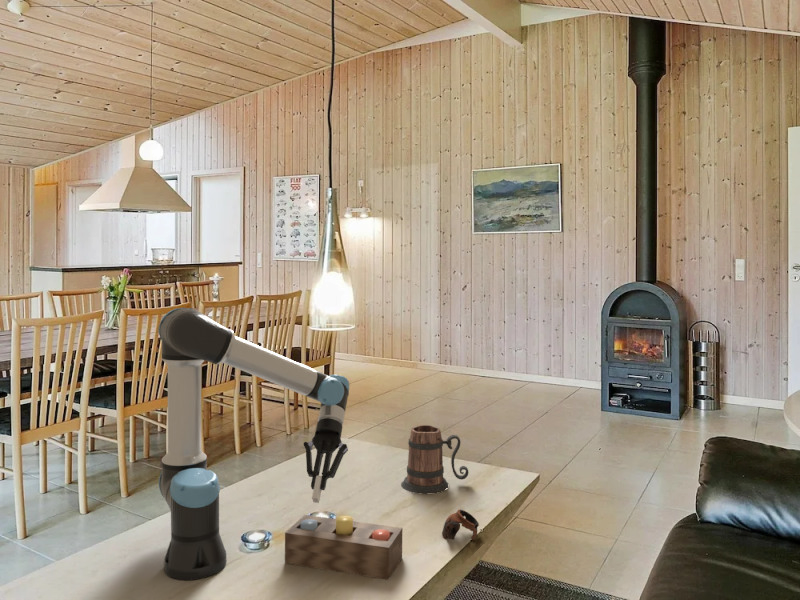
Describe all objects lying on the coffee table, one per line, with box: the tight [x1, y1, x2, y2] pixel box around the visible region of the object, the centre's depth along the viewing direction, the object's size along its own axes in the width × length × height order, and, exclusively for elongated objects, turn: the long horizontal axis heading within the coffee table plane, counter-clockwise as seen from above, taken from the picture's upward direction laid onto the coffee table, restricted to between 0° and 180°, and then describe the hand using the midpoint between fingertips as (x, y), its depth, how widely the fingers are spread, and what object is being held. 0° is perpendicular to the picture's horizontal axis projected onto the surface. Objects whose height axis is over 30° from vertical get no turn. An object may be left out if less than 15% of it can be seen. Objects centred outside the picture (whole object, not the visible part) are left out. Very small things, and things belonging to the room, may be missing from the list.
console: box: [284, 514, 403, 580], centre depth 164 cm, size 28×12×8 cm, turn 74°
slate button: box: [301, 519, 317, 531], centre depth 166 cm, size 4×4×4 cm
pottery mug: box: [441, 508, 480, 541], centre depth 178 cm, size 12×10×8 cm
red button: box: [372, 529, 390, 541], centre depth 161 cm, size 4×4×4 cm
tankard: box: [400, 424, 469, 495], centre depth 219 cm, size 24×17×20 cm
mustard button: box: [335, 515, 354, 536], centre depth 163 cm, size 4×4×4 cm
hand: (315, 500), depth 169 cm, fingers closed
